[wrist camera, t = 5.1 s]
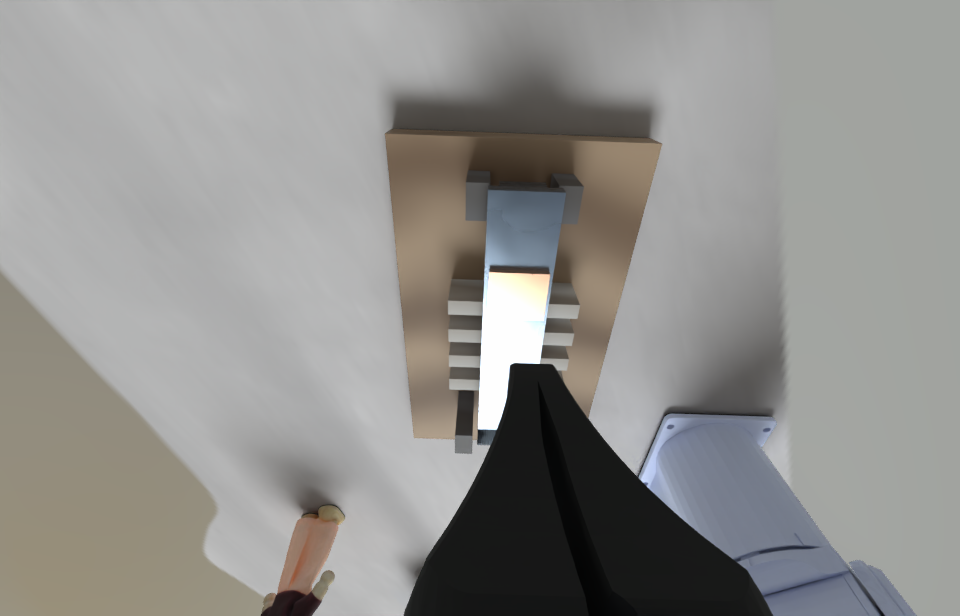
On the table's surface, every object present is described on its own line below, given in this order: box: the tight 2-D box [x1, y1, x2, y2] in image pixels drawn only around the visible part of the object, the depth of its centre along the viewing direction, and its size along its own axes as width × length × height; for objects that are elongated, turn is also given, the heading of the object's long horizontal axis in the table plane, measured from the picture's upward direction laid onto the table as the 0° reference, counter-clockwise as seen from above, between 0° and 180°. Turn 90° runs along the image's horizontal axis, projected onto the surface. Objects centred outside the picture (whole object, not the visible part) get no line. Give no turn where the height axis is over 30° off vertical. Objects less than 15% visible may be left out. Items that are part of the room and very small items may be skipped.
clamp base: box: [385, 129, 662, 454], centre depth 21 cm, size 20×12×5 cm, turn 178°
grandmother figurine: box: [261, 505, 345, 616], centre depth 31 cm, size 8×4×13 cm, turn 136°
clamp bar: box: [477, 181, 566, 445], centre depth 19 cm, size 15×3×2 cm, turn 178°
